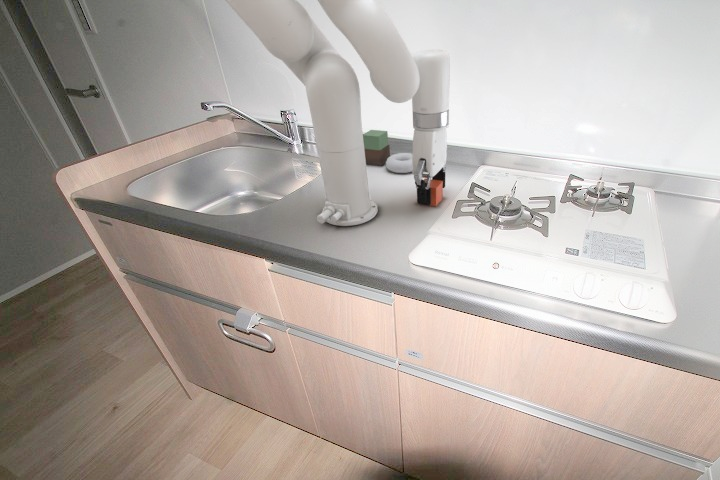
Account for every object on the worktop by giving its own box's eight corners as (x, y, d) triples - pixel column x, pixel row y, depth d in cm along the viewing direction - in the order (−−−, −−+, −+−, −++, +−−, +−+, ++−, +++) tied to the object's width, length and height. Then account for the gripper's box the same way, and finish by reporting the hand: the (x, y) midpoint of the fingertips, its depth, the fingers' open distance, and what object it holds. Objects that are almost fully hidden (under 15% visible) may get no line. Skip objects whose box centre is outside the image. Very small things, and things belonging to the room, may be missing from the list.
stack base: (381, 166, 107) (380, 151, 104) (363, 164, 109) (362, 149, 106) (390, 159, 111) (389, 144, 109) (373, 157, 113) (371, 142, 111)
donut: (392, 161, 110) (381, 173, 102) (391, 150, 108) (380, 161, 100) (424, 163, 107) (415, 176, 99) (424, 152, 105) (415, 163, 97)
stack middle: (379, 150, 104) (378, 136, 102) (363, 148, 107) (361, 134, 104) (388, 144, 108) (387, 131, 106) (372, 143, 111) (371, 129, 108)
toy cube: (436, 206, 84) (436, 188, 81) (418, 203, 86) (417, 185, 83) (442, 198, 87) (442, 180, 85) (425, 195, 89) (425, 178, 86)
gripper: (429, 108, 83) (430, 179, 93) (396, 129, 71) (402, 209, 81) (460, 109, 80) (458, 182, 90) (432, 132, 68) (433, 214, 78)
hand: (431, 195), depth 86 cm, fingers open, 9 cm apart
